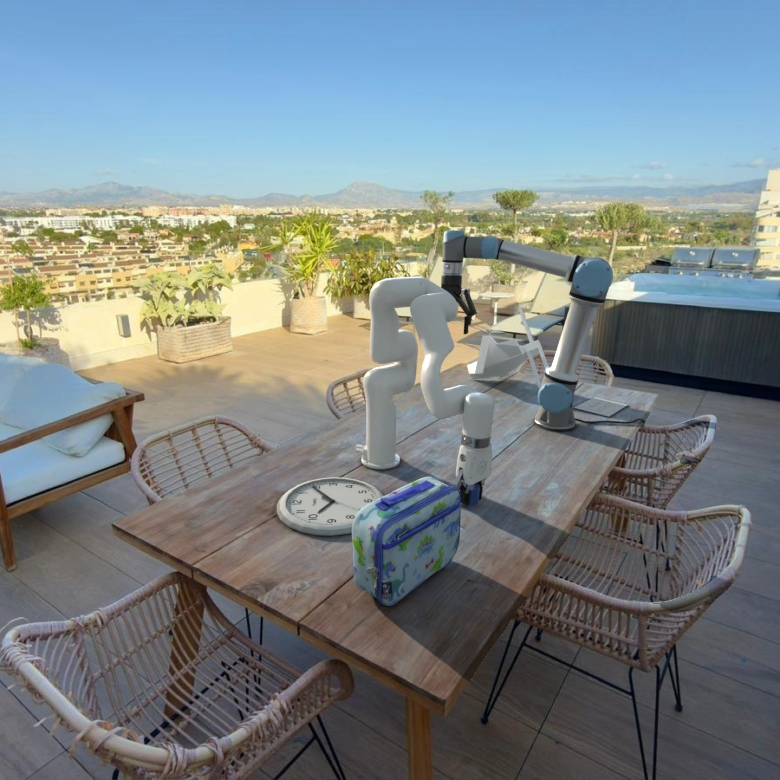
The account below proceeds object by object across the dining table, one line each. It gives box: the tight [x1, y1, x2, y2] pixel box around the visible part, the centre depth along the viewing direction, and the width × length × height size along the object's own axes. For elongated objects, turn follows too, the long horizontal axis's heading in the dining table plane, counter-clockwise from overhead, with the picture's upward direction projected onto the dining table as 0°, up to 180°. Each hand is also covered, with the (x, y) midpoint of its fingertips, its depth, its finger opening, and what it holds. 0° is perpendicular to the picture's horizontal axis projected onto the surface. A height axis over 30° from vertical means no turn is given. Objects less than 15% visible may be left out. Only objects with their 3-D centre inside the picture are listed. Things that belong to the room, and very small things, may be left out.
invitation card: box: [573, 396, 629, 418], centre depth 226 cm, size 21×1×15 cm
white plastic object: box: [466, 308, 549, 390], centre depth 255 cm, size 37×45×31 cm
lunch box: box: [351, 476, 462, 607], centre depth 111 cm, size 26×11×21 cm, turn 135°
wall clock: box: [276, 476, 385, 537], centre depth 142 cm, size 30×2×30 cm
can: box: [464, 483, 480, 507], centre depth 142 cm, size 4×4×5 cm
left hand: (470, 500), depth 143 cm, fingers closed on can, 4 cm apart
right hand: (448, 331), depth 197 cm, fingers open, 13 cm apart
